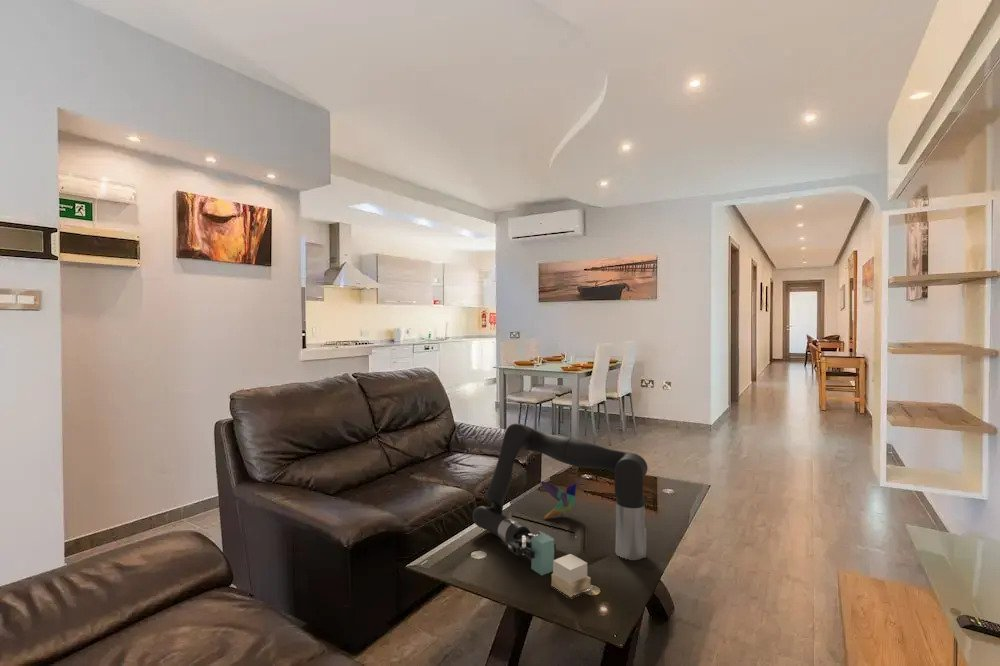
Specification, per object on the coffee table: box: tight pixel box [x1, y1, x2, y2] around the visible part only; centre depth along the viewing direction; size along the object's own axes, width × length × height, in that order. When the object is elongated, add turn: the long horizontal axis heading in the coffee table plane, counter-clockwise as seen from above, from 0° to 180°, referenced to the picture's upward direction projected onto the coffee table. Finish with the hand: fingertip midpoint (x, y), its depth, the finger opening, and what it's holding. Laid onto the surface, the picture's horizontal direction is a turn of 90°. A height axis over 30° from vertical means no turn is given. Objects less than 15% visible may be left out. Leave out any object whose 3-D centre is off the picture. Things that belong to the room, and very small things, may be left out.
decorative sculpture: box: [540, 476, 585, 520], centre depth 197 cm, size 17×18×15 cm
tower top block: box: [552, 553, 588, 584], centre depth 145 cm, size 7×7×4 cm
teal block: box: [530, 533, 555, 576], centre depth 155 cm, size 5×5×10 cm
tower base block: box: [550, 573, 592, 597], centre depth 145 cm, size 8×8×4 cm
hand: (544, 551), depth 154 cm, fingers open, 8 cm apart
